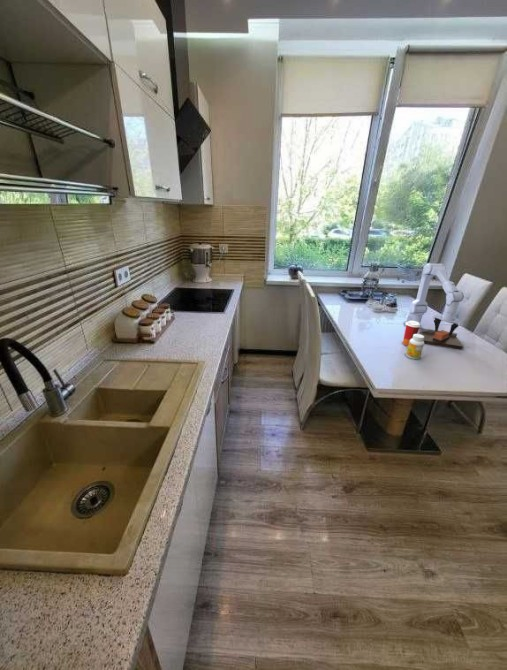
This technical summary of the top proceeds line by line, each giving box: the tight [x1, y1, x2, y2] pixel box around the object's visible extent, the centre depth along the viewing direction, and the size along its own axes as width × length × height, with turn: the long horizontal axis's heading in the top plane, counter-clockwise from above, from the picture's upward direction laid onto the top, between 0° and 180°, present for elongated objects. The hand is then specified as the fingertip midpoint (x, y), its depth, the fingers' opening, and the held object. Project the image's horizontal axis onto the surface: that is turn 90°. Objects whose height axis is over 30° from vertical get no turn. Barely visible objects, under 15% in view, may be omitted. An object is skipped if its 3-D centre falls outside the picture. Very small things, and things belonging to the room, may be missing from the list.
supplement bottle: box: [405, 333, 425, 360], centre depth 150 cm, size 7×7×13 cm
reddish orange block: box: [433, 329, 450, 342], centre depth 168 cm, size 11×4×4 cm, turn 123°
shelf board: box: [419, 327, 464, 350], centre depth 171 cm, size 20×16×4 cm
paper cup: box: [402, 321, 422, 347], centre depth 164 cm, size 8×8×14 cm
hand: (442, 332), depth 167 cm, fingers open, 7 cm apart
